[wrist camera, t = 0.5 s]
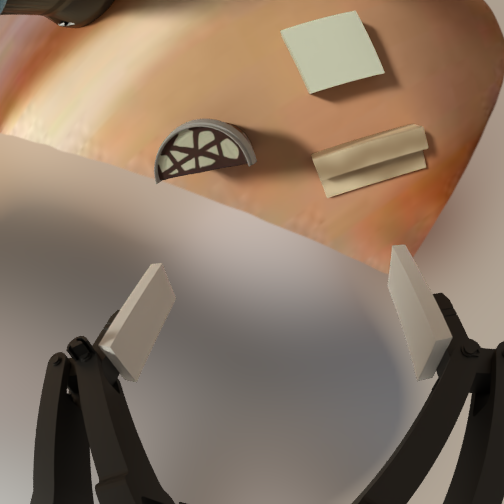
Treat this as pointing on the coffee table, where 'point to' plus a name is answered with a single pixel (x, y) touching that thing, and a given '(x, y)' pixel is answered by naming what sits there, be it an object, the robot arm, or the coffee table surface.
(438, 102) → the coffee table surface
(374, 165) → the beige ridged bar
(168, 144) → the food container
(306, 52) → the block
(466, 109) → the coffee table surface
